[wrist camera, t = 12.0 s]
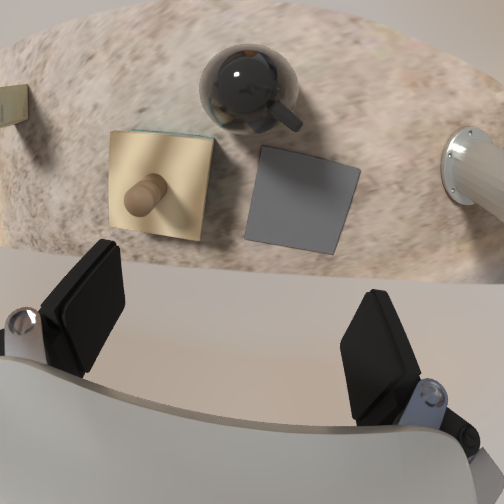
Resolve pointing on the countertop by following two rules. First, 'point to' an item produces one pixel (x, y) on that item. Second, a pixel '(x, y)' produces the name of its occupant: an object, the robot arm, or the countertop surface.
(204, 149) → the lid
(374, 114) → the countertop surface
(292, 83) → the pump dispenser
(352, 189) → the mat
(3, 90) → the skincare box
